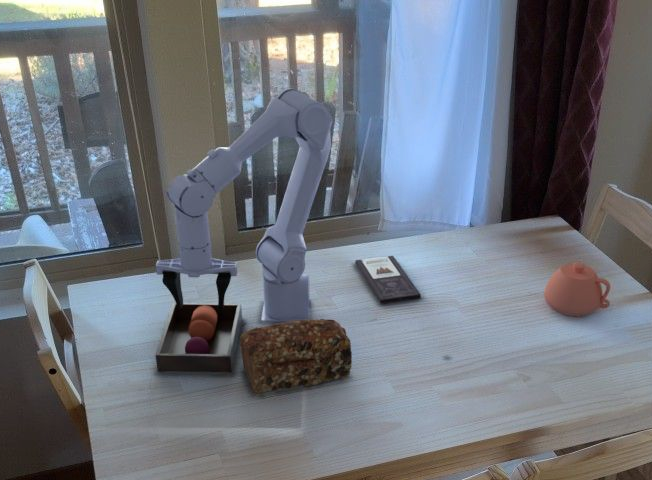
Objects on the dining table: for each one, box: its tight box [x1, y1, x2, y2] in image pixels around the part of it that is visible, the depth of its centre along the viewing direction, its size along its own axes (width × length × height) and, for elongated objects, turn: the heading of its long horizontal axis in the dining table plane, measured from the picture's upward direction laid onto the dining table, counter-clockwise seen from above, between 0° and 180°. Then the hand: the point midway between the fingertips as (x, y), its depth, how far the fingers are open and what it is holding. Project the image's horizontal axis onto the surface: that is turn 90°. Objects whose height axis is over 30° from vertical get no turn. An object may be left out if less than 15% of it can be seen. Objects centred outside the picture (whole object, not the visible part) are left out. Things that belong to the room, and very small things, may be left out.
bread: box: [239, 318, 353, 394], centre depth 150 cm, size 19×11×10 cm, turn 111°
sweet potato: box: [189, 305, 217, 342], centre depth 160 cm, size 9×5×5 cm, turn 3°
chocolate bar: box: [355, 255, 422, 305], centre depth 182 cm, size 9×1×18 cm
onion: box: [185, 337, 209, 354], centre depth 153 cm, size 4×4×4 cm
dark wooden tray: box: [154, 302, 243, 373], centre depth 158 cm, size 13×18×4 cm
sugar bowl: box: [543, 261, 611, 319], centre depth 174 cm, size 12×14×10 cm
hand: (201, 306), depth 157 cm, fingers open, 7 cm apart
